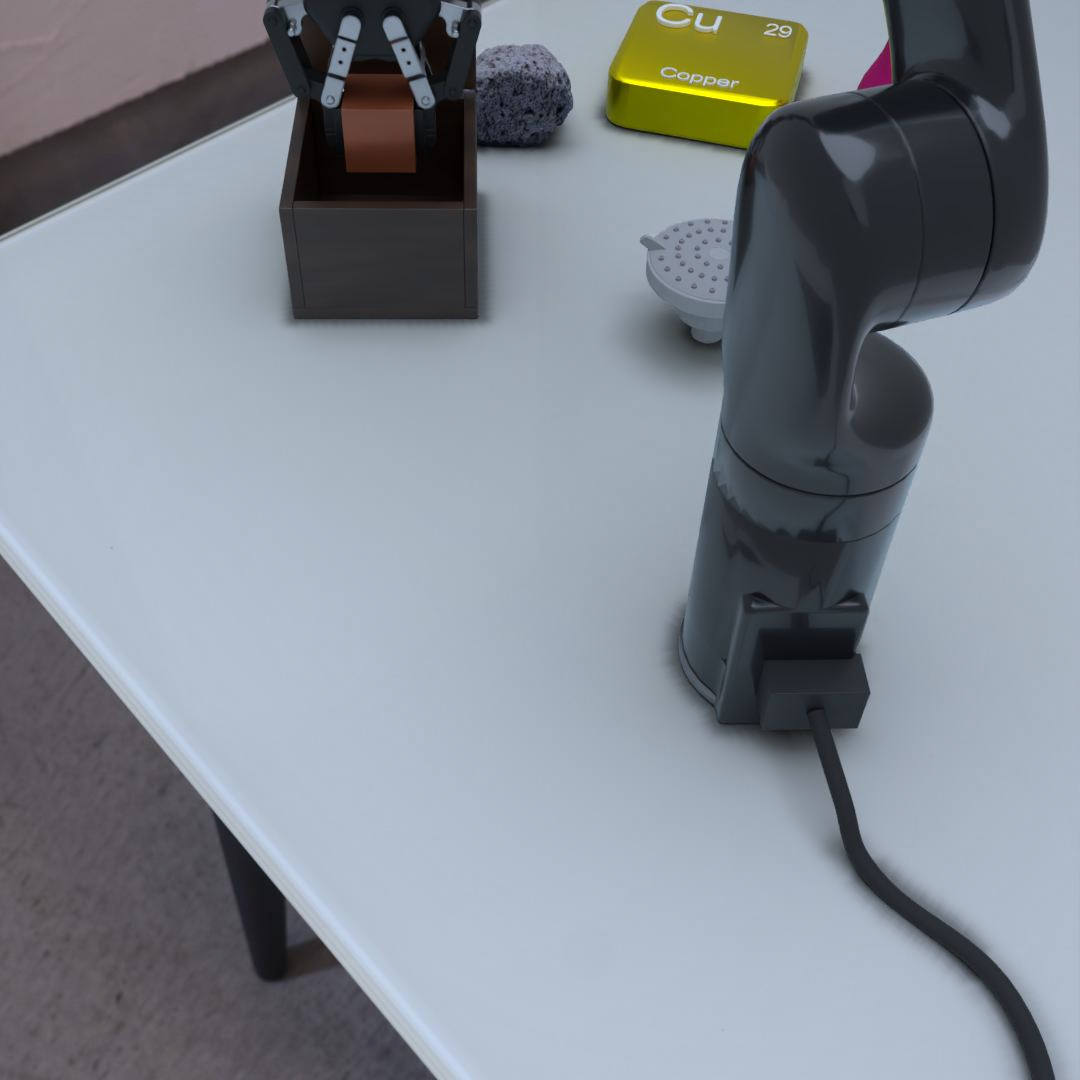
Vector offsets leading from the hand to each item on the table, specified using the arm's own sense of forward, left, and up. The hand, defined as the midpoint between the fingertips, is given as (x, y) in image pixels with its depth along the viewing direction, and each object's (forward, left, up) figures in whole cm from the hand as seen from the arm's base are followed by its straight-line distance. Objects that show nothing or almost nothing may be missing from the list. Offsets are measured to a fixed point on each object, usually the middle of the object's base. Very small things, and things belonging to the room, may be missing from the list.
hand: (382, 149), depth 89 cm
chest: (+1, 0, -9) cm, 9 cm away
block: (0, 0, 0) cm, 0 cm away
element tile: (+24, -26, -9) cm, 37 cm away
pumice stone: (+19, -10, -10) cm, 23 cm away
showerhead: (-8, -22, -10) cm, 25 cm away
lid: (+7, 0, +8) cm, 10 cm away
